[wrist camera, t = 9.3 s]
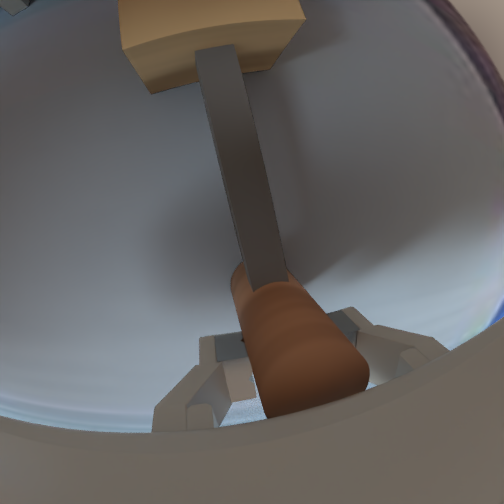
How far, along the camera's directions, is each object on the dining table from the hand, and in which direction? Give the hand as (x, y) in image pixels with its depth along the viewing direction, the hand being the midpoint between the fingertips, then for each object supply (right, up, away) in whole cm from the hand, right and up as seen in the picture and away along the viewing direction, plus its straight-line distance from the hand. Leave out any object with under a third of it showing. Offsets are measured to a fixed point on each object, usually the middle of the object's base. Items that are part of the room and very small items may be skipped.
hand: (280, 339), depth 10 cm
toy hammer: (-2, +8, +1) cm, 8 cm away
